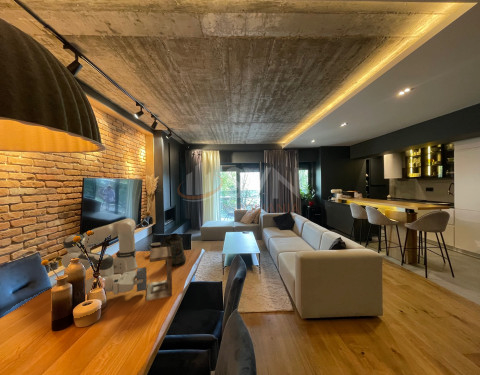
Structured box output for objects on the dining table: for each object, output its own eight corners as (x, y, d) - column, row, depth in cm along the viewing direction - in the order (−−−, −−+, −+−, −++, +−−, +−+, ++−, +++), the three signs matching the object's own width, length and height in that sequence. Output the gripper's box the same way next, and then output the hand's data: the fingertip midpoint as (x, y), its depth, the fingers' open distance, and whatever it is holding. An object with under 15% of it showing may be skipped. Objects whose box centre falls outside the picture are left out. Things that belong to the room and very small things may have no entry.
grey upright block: (136, 291, 119) (136, 271, 119) (137, 287, 124) (137, 268, 124) (146, 290, 121) (145, 270, 121) (146, 286, 126) (146, 267, 126)
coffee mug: (163, 253, 194) (162, 243, 194) (155, 256, 186) (155, 245, 186) (154, 251, 199) (154, 241, 199) (146, 254, 191) (146, 244, 191)
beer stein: (189, 260, 176) (189, 232, 176) (177, 269, 157) (176, 237, 157) (172, 258, 180) (172, 231, 180) (158, 267, 161) (158, 236, 161)
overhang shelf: (146, 300, 115) (145, 259, 114) (147, 284, 133) (147, 248, 133) (172, 295, 120) (171, 255, 120) (170, 280, 139) (169, 246, 138)
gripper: (120, 279, 127) (144, 275, 132) (113, 296, 108) (142, 291, 113) (120, 270, 127) (144, 266, 132) (113, 284, 108) (141, 279, 113)
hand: (143, 277), depth 123 cm, fingers closed on grey upright block, 5 cm apart
